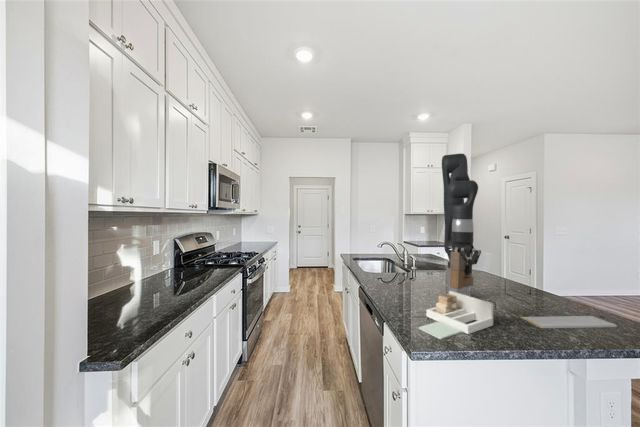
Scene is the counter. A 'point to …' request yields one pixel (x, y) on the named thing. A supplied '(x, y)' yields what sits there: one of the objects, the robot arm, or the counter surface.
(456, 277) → the wooden block
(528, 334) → the counter surface
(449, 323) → the offcut rack
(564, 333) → the counter surface
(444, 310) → the offcut stack
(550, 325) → the baseboard
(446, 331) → the sage mat
